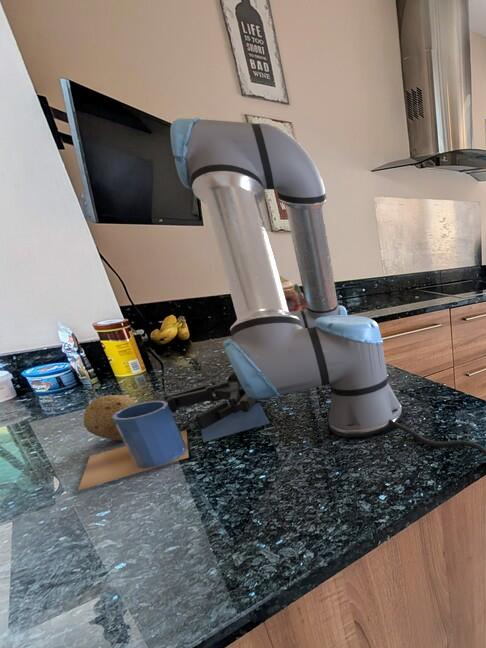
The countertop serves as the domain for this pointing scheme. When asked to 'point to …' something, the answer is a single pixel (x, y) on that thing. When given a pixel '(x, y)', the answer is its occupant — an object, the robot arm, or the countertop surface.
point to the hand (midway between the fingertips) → (169, 420)
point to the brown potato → (105, 416)
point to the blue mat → (236, 423)
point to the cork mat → (116, 465)
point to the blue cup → (150, 433)
